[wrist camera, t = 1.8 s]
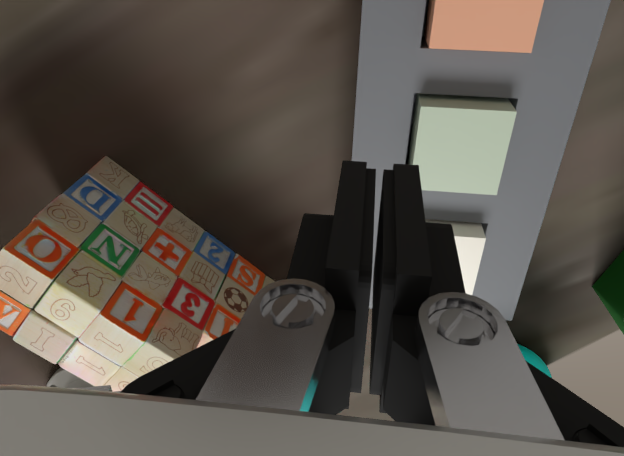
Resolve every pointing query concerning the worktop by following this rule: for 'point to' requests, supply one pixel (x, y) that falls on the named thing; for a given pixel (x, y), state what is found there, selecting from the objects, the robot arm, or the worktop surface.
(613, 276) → the milk carton
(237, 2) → the worktop surface
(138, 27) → the worktop surface
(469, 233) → the cream key
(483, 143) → the sage key
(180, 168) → the worktop surface
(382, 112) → the key panel
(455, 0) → the terracotta key
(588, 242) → the worktop surface
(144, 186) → the stack of blocks
